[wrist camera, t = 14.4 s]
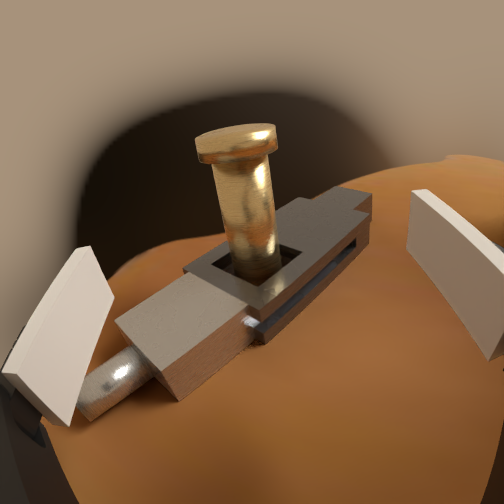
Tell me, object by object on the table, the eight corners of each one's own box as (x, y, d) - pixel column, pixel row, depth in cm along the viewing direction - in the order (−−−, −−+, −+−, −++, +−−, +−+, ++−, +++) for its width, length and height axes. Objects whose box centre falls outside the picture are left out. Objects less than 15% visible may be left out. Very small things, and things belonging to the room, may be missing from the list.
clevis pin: (260, 266, 31) (236, 123, 24) (305, 285, 28) (291, 124, 20) (217, 296, 28) (179, 141, 21) (263, 322, 25) (232, 142, 17)
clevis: (323, 208, 40) (322, 183, 39) (386, 224, 35) (387, 197, 33) (71, 382, 21) (49, 353, 19) (119, 461, 15) (90, 437, 13)
